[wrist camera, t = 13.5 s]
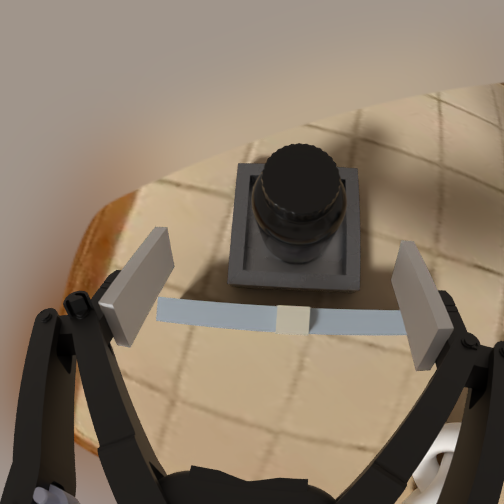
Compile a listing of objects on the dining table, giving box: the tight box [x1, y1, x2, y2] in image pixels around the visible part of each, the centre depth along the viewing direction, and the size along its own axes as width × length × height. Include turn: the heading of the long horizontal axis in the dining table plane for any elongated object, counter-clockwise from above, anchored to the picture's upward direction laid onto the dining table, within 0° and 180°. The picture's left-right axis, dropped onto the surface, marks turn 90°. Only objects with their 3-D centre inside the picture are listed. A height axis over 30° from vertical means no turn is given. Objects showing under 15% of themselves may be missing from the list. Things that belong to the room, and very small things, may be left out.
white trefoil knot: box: [402, 422, 462, 504], centre depth 19 cm, size 11×12×9 cm
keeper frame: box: [227, 163, 360, 292], centre depth 29 cm, size 12×12×2 cm
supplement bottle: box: [252, 143, 347, 263], centre depth 24 cm, size 7×7×12 cm
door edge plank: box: [156, 297, 407, 335], centre depth 25 cm, size 22×2×6 cm, turn 86°
